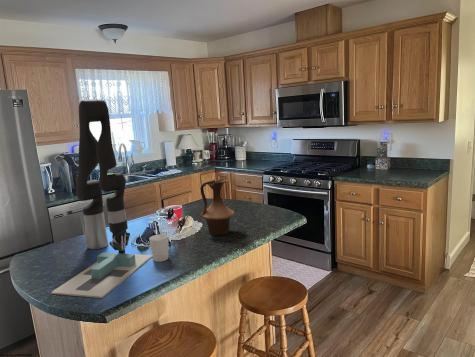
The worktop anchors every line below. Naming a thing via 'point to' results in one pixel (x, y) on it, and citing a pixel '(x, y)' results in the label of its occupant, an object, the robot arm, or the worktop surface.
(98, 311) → the worktop surface
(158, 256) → the white cup
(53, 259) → the worktop surface
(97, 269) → the t block
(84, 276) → the mat
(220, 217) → the pitcher
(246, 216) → the worktop surface
